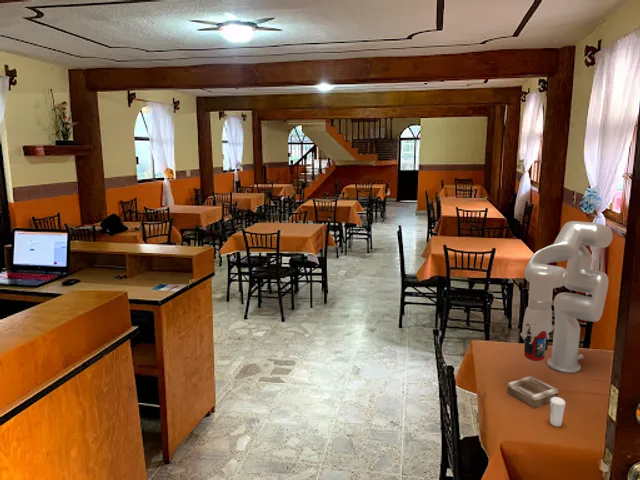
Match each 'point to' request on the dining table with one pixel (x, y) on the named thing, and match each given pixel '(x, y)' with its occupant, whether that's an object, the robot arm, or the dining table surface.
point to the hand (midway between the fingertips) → (535, 350)
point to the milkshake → (556, 410)
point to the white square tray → (532, 391)
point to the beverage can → (538, 347)
